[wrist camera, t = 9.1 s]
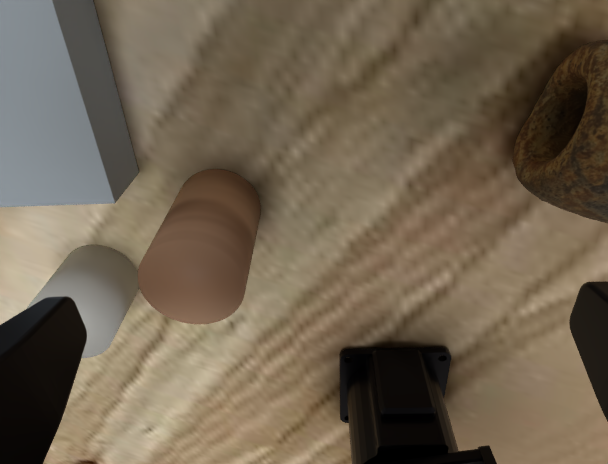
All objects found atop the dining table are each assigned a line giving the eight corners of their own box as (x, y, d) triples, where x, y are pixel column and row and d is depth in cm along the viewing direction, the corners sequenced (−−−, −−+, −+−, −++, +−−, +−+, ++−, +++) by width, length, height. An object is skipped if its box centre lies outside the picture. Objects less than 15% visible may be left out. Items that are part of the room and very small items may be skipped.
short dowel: (147, 302, 25) (122, 357, 22) (78, 304, 26) (42, 358, 22) (129, 243, 23) (98, 294, 20) (54, 246, 23) (10, 296, 20)
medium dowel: (264, 239, 23) (250, 322, 18) (187, 242, 23) (151, 325, 18) (256, 167, 21) (237, 238, 16) (170, 170, 21) (125, 242, 16)
